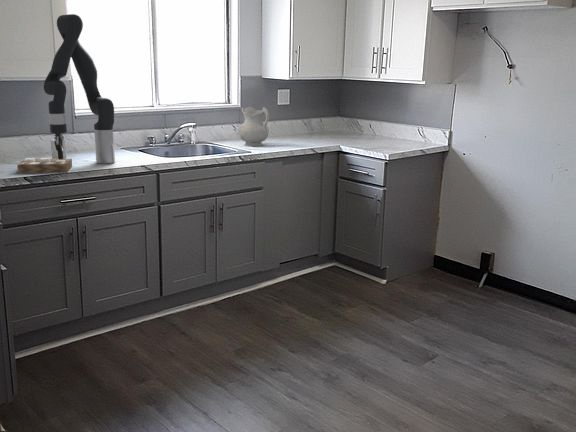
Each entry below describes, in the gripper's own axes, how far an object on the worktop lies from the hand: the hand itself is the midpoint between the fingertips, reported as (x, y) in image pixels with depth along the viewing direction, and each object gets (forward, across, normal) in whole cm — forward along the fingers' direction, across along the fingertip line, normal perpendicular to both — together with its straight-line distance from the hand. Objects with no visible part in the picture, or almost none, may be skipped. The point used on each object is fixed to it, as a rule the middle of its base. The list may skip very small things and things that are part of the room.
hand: (60, 158), depth 295 cm
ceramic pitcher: (+7, +78, -106) cm, 131 cm away
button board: (+5, 0, +7) cm, 9 cm away
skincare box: (+6, +20, +4) cm, 21 cm away
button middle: (+2, 0, +7) cm, 7 cm away
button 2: (+3, 0, 0) cm, 3 cm away
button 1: (+2, 0, +14) cm, 14 cm away
